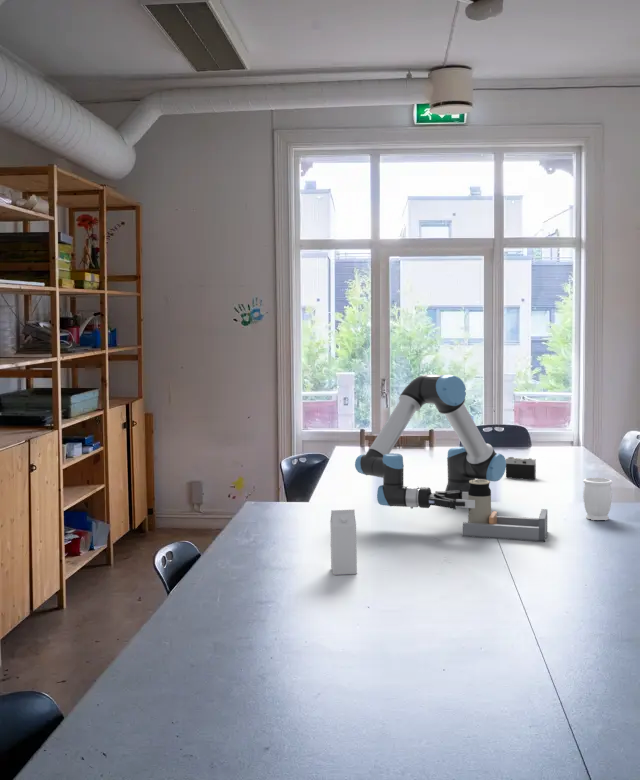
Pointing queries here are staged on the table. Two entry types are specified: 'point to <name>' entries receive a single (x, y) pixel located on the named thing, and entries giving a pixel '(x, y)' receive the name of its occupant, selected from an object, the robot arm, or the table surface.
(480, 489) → the travel mug
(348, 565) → the milk carton
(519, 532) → the grey open tray
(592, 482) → the jar
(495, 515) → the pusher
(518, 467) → the camera
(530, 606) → the table surface
